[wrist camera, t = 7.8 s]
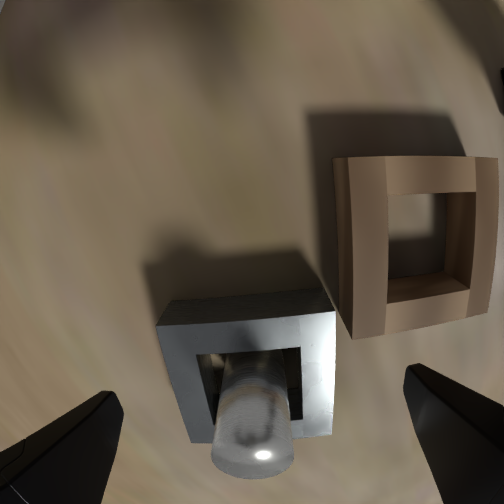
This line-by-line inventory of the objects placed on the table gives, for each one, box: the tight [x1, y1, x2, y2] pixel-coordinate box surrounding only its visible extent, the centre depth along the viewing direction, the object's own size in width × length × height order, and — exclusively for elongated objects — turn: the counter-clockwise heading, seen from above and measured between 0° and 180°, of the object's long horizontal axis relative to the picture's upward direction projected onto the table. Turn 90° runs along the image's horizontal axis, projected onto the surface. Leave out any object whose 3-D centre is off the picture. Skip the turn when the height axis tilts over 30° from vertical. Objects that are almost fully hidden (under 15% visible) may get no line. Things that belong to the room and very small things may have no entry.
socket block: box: [332, 156, 499, 340], centre depth 18 cm, size 10×10×4 cm
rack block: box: [156, 287, 336, 443], centre depth 20 cm, size 10×10×4 cm
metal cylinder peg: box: [211, 349, 294, 479], centre depth 18 cm, size 4×4×9 cm
